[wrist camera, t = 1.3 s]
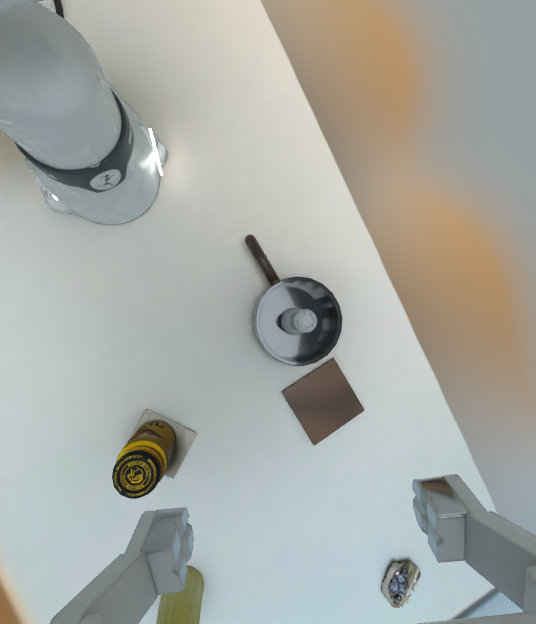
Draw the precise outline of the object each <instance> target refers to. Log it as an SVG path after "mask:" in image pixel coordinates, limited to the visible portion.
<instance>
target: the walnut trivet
mask: <svg viewBox="0 0 536 624" xmlns="http://www.w3.org/2000/svg"><path fill="white" fill-rule="evenodd" d="M282 393H283V395H284V396H285V398H286V400H287V401H288V403H289V405H290V406H291V408H292V410H293V411H294V413H295V415H296V416H297V418H298V420H299V421H300V423H301V425H302V426H303V428H304V430H305V431H306V433H307V435H308V436H309V438H310V440H311V441H312V443H313V445H316V444H317V443H318V442H320V441H321V440H323V439H324V438H326V437H327V436H329V435H330V434H331V433H333V432H334V431H336V430H337V429H339V428H340V427H341V426H343V425H344V424H346V423H347V422H349V421H350V420H351V419H353V418H354V417H356V416H357V415H359V414H360V413H362V412H363V411H364V408H363V407H362V405H361V403H360V402H359V400H358V398H357V397H356V395H355V393H354V392H353V390H352V388H351V386H350V385H349V383H348V381H347V380H346V378H345V376H344V375H343V373H342V371H341V369H340V368H339V366H338V364H337V363H336V361H335V359H334V358H332V359H331V360H329V361H327V362H326V363H324V364H323V365H321V366H320V367H318V368H317V369H315V370H314V371H312V372H311V373H309V374H308V375H306V376H305V377H303V378H301V379H300V380H298V381H297V382H295V383H294V384H292V385H291V386H289V387H288V388H286V389H285V390H283V391H282Z"/></svg>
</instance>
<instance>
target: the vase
mask: <svg viewBox="0 0 536 624" xmlns="http://www.w3.org/2000/svg"><path fill="white" fill-rule="evenodd" d="M187 569H188V572H187V577H186V581H185V585H184V589H183V591H181V592H174V593H167V594H161V600H160V604H159V610H158V616H157V623H156V624H199V621H200V610H201V601H202V593H203V587H204V582H203V579H202V576H201V575H200V573H199V572H198V571H197V570H195V569H193V568H190V567H187Z"/></svg>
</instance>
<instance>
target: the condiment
mask: <svg viewBox="0 0 536 624" xmlns="http://www.w3.org/2000/svg"><path fill="white" fill-rule="evenodd" d="M196 435H197V433H195V432H193V431H191V430H189V429H187V428H185V427H183V426H181V425H178V424H177V423H174V422H173V421H171V420H168V419H166V418H164V417H162V416H160V415H158V414H156V413H154V412H152V411H149V410H147V409H146V410H145V412H144V414H143V416H142V417H141V419H140V421H139V423H138V425H137V427H136V428H135V430H134V432H133V434H132V436H131V438H130V439H129V441H128V443H127V444H126V446H125V447H124V448H123V450H122V451H121V453H120V454H119V456H118V458H117V461H116V464H115V467H114V469H113V475H112V479H113V484H114V487H115V488H116V490H117V491H118V492H119V493H120V494H121V495H122V496H125V497H128V498H133V499H135V498H140V497H142V496H145V495H148V494H149V493H150V492H152V490H153V489H154V488H155V487H156V485H157V484H158V482H159V481H160V480H161V479H162V477H163V476H164V475H166V476H168V477H171V478H173V479H174V477H175V475H176V473H177V471H178V469H179V467H180V465H181V463H182V461H183V459H184V458H185V456H186V454H187V452H188V450H189V448H190V446H191V444H192V442H193V440H194V439H195V437H196Z"/></svg>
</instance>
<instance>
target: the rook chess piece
mask: <svg viewBox="0 0 536 624" xmlns="http://www.w3.org/2000/svg"><path fill="white" fill-rule="evenodd" d="M281 324H282V327H283V329H284V331H285V332H287V333H288V334H291V335H300V334H302V333H304V332H305V333H307V332H311V331H312V330H314V328H315V327H316V325H317V317H316V315H315V313H314V312H312V311H311V310H308V309H304V310H303V309H301V308H297V307H294V308H289V309H288V310H286V311H285V312H284V314H283V315H282V319H281Z"/></svg>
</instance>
